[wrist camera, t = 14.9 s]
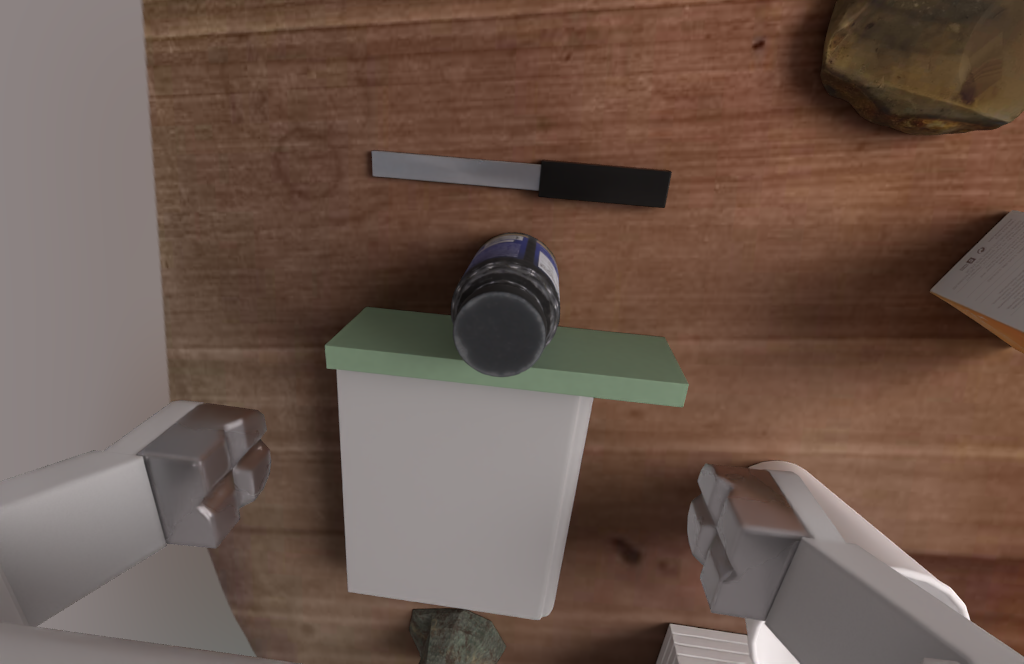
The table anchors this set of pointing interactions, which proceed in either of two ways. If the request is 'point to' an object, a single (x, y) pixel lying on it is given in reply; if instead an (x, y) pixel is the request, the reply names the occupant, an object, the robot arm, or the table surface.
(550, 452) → the white rectangular block
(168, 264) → the table surface
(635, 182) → the table knife
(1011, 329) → the small box
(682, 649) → the white ribbed block
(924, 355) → the table surface
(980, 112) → the decorative stone
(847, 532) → the cup
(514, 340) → the pill bottle
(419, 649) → the sword in stone
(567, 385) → the green board
